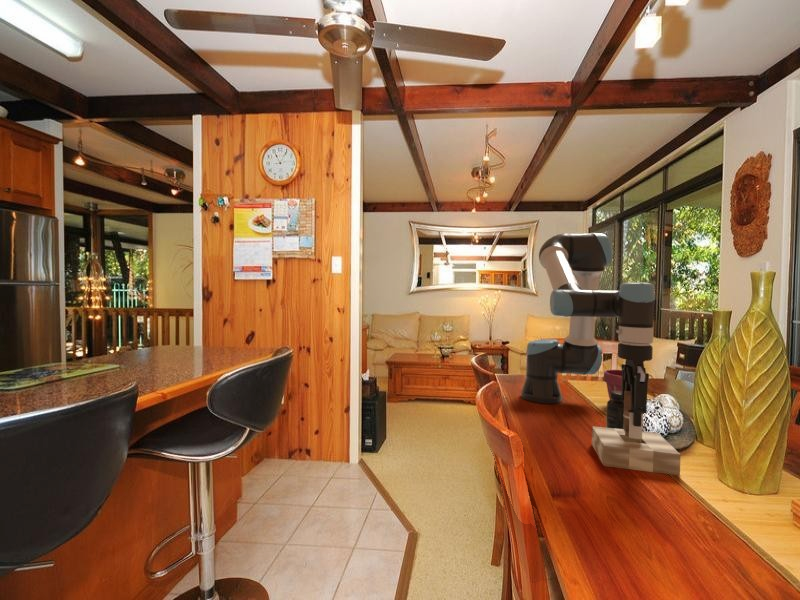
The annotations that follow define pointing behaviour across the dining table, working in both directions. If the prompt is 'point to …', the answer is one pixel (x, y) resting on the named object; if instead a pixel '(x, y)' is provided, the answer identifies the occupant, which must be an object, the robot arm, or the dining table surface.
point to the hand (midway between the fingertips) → (632, 434)
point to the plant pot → (613, 380)
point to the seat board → (635, 451)
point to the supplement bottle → (615, 411)
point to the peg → (626, 414)
